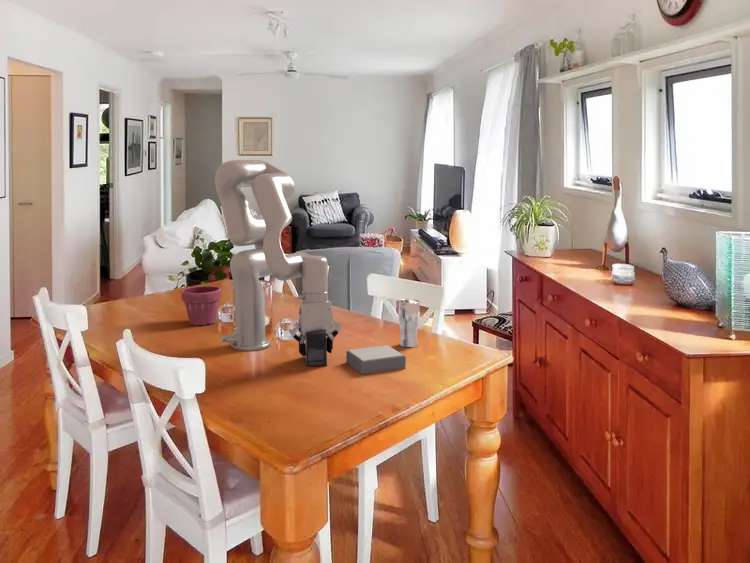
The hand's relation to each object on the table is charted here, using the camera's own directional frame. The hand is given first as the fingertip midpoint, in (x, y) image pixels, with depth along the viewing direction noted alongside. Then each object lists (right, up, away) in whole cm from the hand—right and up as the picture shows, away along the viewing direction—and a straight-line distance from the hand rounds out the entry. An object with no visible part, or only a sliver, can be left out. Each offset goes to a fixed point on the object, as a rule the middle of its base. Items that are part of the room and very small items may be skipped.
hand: (315, 353), depth 202 cm
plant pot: (-46, +6, +45) cm, 64 cm away
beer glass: (+29, +1, +18) cm, 34 cm away
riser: (+18, -3, -3) cm, 19 cm away
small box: (0, -3, +1) cm, 3 cm away
